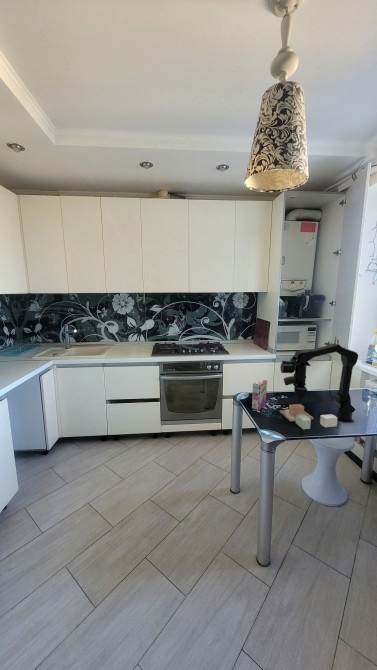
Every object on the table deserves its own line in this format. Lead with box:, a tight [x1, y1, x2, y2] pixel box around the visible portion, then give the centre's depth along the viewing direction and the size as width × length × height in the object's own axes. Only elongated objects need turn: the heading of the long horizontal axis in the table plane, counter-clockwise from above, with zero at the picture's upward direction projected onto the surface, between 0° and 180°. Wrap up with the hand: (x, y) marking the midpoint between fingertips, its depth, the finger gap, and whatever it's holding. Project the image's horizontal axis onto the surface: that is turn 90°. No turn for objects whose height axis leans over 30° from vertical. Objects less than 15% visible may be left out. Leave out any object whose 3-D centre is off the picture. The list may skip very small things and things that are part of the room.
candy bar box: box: [251, 379, 268, 411], centre depth 161 cm, size 11×5×16 cm, turn 141°
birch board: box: [279, 409, 314, 422], centre depth 150 cm, size 14×12×1 cm
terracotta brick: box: [288, 403, 305, 416], centre depth 150 cm, size 7×4×5 cm, turn 99°
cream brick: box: [319, 413, 338, 428], centre depth 139 cm, size 7×4×5 cm, turn 99°
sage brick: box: [295, 414, 312, 430], centre depth 138 cm, size 7×4×5 cm, turn 8°
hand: (298, 399), depth 145 cm, fingers open, 9 cm apart
